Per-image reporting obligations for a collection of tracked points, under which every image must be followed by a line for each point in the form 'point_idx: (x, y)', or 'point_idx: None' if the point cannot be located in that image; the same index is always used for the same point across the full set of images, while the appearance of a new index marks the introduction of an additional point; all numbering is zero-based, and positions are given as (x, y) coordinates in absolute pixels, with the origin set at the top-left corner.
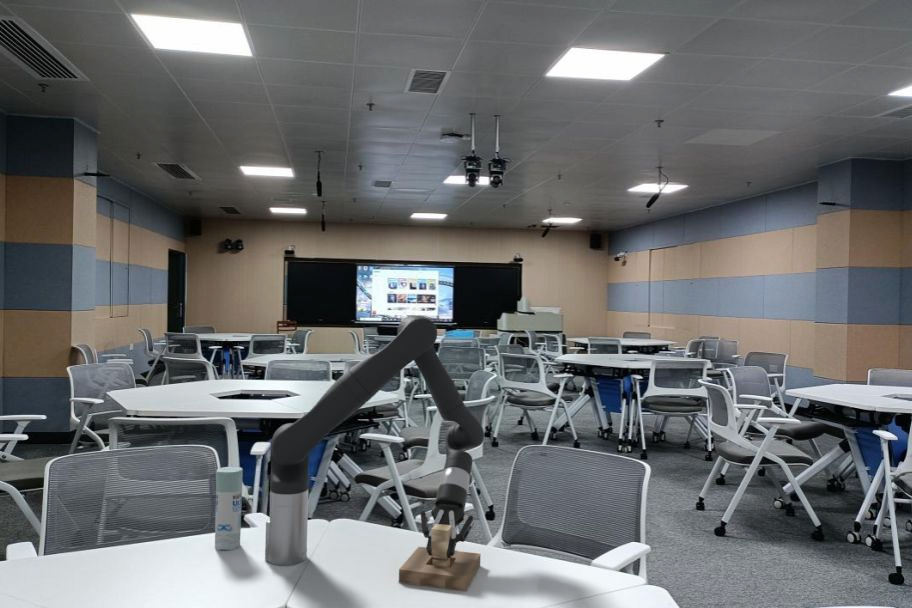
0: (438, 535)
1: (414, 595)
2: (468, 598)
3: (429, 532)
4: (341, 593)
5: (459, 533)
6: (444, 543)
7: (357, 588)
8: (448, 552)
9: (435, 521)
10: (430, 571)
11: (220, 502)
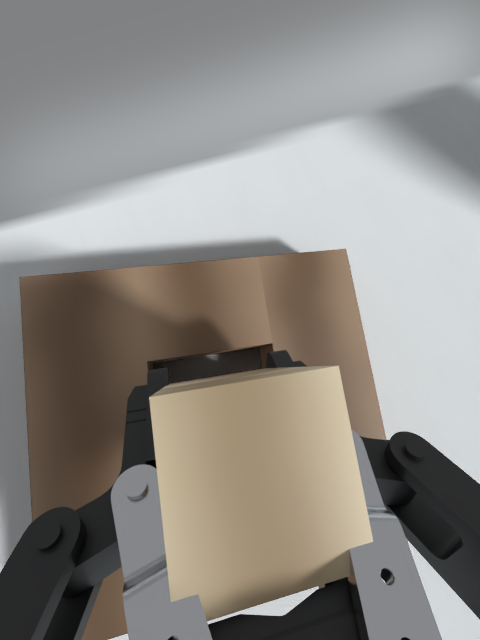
0: (250, 376)
1: (225, 194)
2: (22, 238)
3: (365, 450)
4: (423, 139)
5: (68, 547)
6: (189, 383)
7: (406, 181)
8: (154, 371)
9: (405, 582)
10: (216, 277)
11: None
